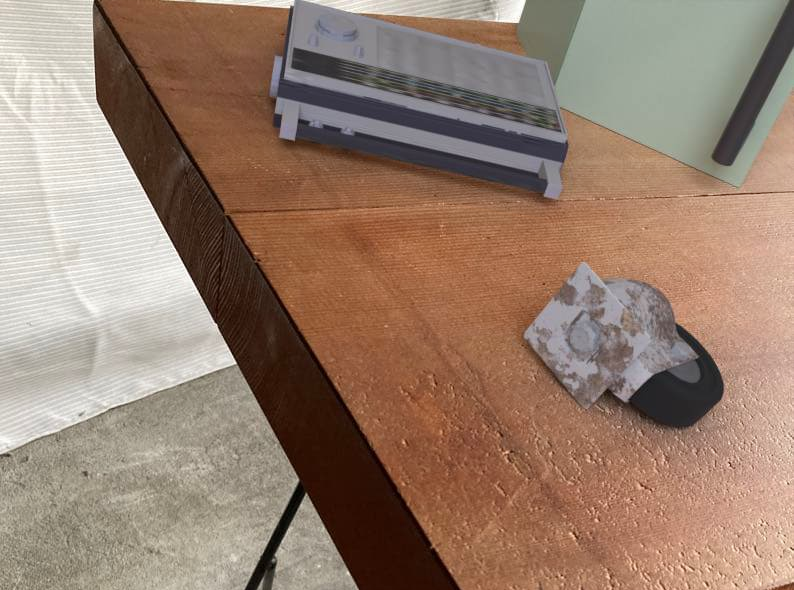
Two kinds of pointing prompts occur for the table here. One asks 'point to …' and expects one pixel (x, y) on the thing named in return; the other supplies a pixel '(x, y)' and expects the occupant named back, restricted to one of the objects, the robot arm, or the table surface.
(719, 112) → the cabinet door
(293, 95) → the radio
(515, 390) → the table surface
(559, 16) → the cabinet
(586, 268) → the camo patterned piece
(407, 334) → the table surface
